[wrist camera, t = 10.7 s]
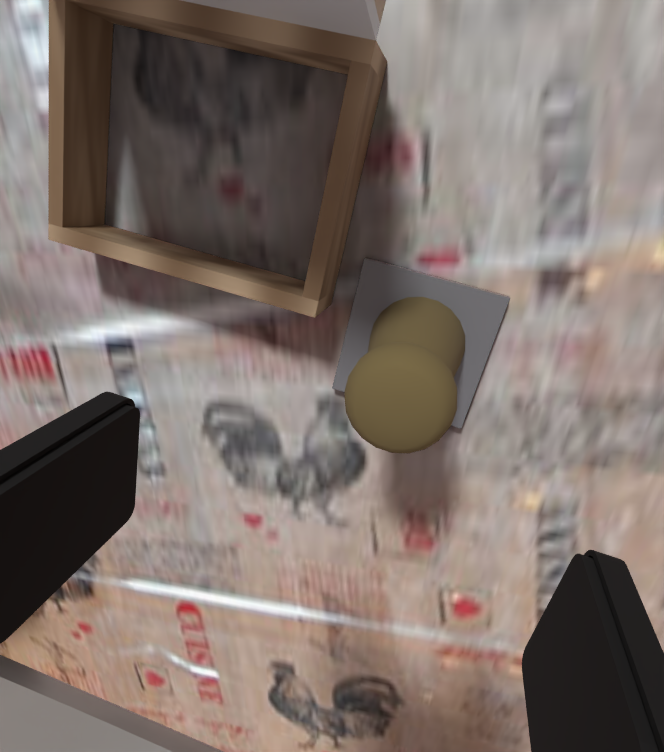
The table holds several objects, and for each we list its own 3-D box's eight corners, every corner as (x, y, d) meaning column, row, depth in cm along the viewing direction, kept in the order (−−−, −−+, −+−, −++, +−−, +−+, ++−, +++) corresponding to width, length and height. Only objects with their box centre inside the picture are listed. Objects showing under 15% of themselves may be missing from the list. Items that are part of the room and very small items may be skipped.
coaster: (509, 296, 30) (510, 298, 29) (461, 424, 33) (461, 428, 33) (366, 257, 31) (364, 258, 30) (334, 385, 34) (332, 388, 34)
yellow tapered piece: (473, 302, 30) (479, 356, 20) (457, 394, 32) (455, 485, 22) (374, 291, 31) (332, 336, 21) (365, 380, 33) (323, 460, 23)
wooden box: (387, 61, 27) (375, 40, 23) (331, 304, 32) (314, 317, 29) (99, 1, 30) (49, -27, 26) (91, 235, 35) (48, 239, 31)
